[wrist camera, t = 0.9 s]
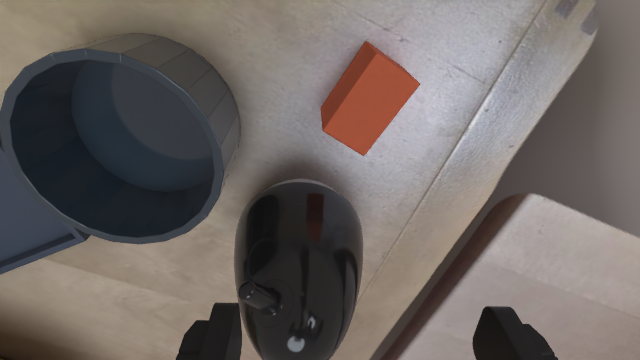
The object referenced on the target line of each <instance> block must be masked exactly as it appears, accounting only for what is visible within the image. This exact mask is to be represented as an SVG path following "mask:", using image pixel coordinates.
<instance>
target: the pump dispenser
mask: <svg viewBox="0 0 640 360" xmlns="http://www.w3.org/2000/svg"><path fill="white" fill-rule="evenodd" d="M362 267H363V233H362V227H361V223H360V220H359V217H358V215H357V213H356V211H355V209H354V208H353V206H352V205H351V204H350V203H349V202H348V201H347V200H346V199H345V198H344V197H343V196H342V195H340V194H339V193H338V192H337V191H335V190H334V189H332V188H331V187H329V186H327V185H325V184H323V183H321V182H318V181H314V180H309V179H291V180H286V181H282V182H279V183H277V184H275V185H273V186H271V187H269V188H268V189H266V190H265V191H263V192H262V193H260V194H259V195H257V196H256V197H255V198H254V199H252V200H251V201H250V203H249V204H248V205H247V206H246V208H245V209H244V211H243V213H242V215H241V217H240V219H239V222H238V226H237V230H236V236H235V248H234V273H235V283H236V291H237V297H238V303H239V307H240V313H241V317H242V320H243V324H244V327H245V330H246V332H247V335H248V337H249V339H250V341H251V343H252V345H253V347H254V349H255V350H256V352H257V353H258V355H259V356H260V357H261V359H262V360H329V359H330V358H331V357H332V356H333V355H334V353H335V352H336V350H337V349H338V347H339V346H340V344H341V342H342V341H343V339H344V337H345V335H346V333H347V330H348V328H349V325H350V323H351V320H352V317H353V314H354V310H355V306H356V303H357V298H358V294H359V289H360V283H361V277H362Z"/></svg>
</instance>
